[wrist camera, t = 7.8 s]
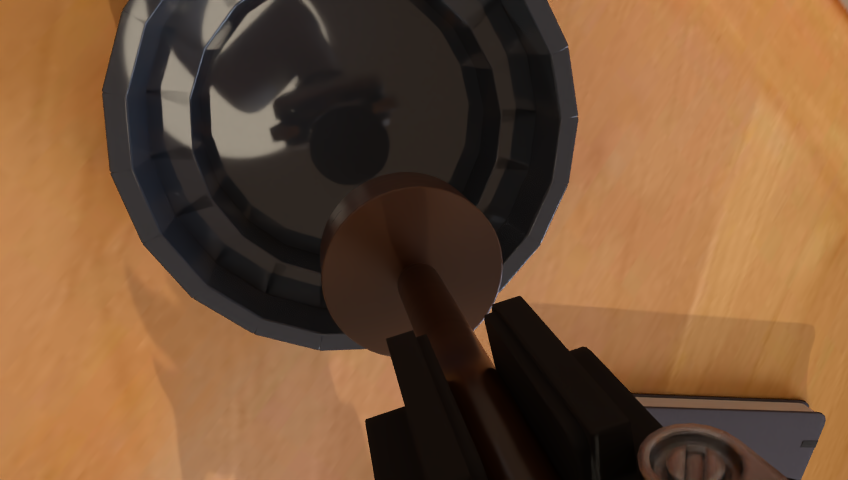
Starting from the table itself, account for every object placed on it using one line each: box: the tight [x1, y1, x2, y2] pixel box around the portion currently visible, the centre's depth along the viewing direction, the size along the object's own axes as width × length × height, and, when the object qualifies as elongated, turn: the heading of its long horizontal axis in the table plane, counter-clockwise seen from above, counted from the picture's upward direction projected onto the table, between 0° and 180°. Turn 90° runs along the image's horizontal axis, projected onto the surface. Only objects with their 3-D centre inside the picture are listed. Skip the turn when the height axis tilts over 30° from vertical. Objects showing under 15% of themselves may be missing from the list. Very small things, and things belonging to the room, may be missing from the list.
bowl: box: [102, 0, 578, 351], centre depth 24 cm, size 18×18×6 cm
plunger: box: [320, 172, 562, 480], centre depth 12 cm, size 5×5×13 cm
